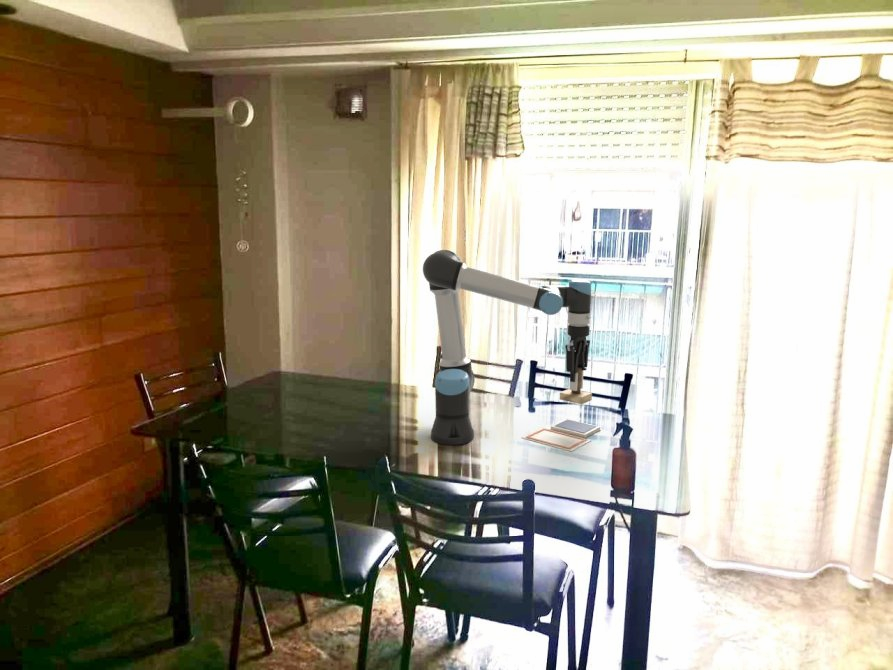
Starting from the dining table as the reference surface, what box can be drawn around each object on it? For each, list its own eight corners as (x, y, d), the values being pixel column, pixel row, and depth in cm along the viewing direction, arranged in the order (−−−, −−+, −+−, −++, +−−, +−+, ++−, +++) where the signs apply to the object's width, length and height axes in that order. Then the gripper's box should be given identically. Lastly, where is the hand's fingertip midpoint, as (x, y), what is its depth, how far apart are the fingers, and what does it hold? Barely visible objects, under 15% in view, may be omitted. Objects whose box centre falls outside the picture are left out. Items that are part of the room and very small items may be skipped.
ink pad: (550, 429, 240) (550, 425, 239) (566, 421, 248) (566, 418, 248) (584, 438, 231) (585, 434, 230) (600, 429, 239) (600, 426, 239)
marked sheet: (521, 437, 231) (521, 436, 231) (542, 428, 241) (542, 426, 241) (571, 451, 218) (571, 450, 218) (591, 440, 228) (591, 439, 228)
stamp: (559, 399, 237) (560, 368, 235) (569, 395, 243) (570, 364, 240) (581, 404, 232) (583, 372, 229) (591, 400, 237) (593, 368, 234)
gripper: (576, 329, 223) (573, 395, 228) (599, 322, 235) (596, 386, 240) (557, 326, 228) (554, 391, 233) (581, 320, 240) (578, 382, 245)
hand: (576, 388), depth 236 cm, fingers closed on stamp, 3 cm apart
